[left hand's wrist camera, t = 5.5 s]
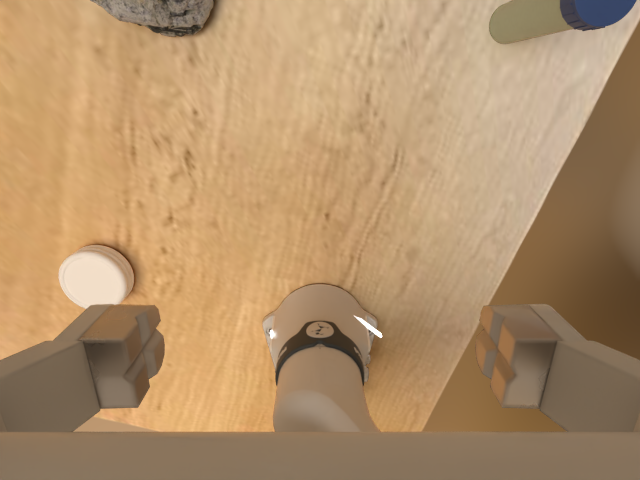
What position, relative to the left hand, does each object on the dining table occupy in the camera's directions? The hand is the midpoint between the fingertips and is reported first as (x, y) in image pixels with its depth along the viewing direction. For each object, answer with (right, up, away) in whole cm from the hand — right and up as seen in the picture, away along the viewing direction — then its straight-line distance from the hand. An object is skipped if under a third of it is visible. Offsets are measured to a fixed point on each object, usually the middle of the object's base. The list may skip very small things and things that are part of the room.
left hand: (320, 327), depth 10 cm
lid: (+24, +23, +23) cm, 40 cm away
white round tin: (-34, -3, +53) cm, 63 cm away
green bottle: (+24, +29, +40) cm, 55 cm away
